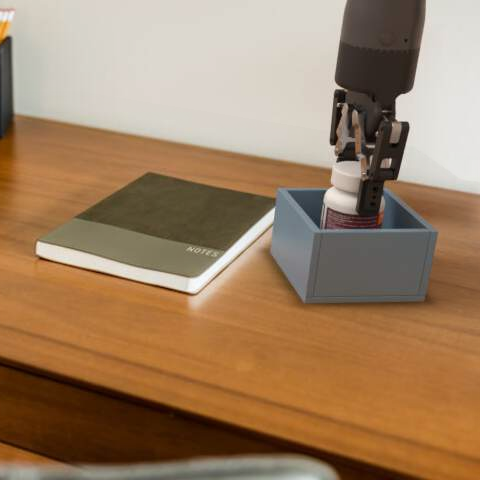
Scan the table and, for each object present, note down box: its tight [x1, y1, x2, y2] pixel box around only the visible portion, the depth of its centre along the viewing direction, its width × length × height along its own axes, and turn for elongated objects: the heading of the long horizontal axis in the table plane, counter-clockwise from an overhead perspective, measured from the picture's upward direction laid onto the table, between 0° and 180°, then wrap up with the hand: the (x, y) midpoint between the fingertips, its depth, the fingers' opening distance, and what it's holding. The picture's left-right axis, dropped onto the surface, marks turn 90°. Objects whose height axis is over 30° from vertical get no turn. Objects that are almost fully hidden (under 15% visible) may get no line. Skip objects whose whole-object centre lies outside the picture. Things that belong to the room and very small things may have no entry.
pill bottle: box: [320, 161, 385, 229], centre depth 93 cm, size 6×6×11 cm
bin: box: [269, 187, 439, 304], centre depth 94 cm, size 13×13×8 cm
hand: (354, 202), depth 92 cm, fingers closed on pill bottle, 6 cm apart
